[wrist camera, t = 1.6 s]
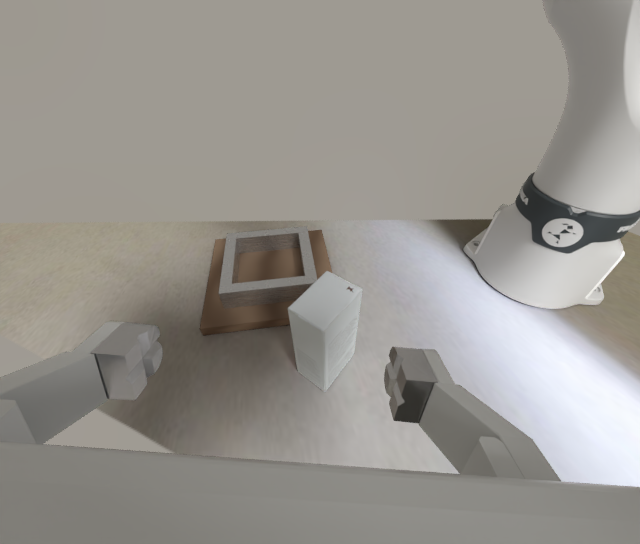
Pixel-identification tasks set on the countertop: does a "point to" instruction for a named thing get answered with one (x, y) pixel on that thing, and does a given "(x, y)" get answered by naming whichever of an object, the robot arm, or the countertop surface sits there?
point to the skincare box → (325, 328)
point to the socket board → (260, 277)
